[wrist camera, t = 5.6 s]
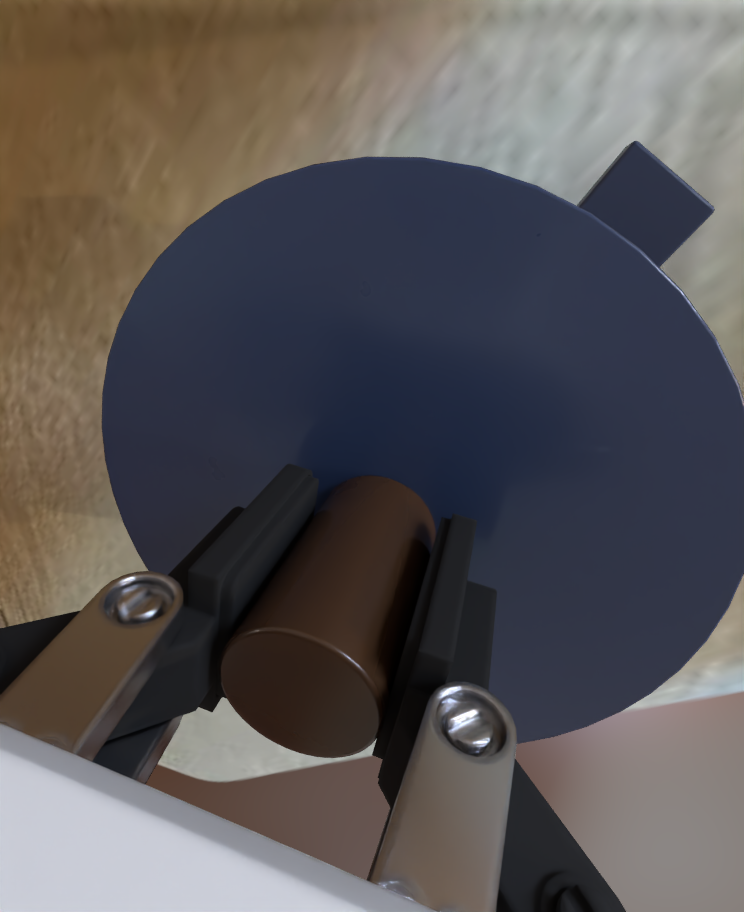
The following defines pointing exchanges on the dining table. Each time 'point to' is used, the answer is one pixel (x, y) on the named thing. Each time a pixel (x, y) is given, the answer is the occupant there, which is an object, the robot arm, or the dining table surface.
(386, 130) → the dining table surface
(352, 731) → the pan lid
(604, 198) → the pan
